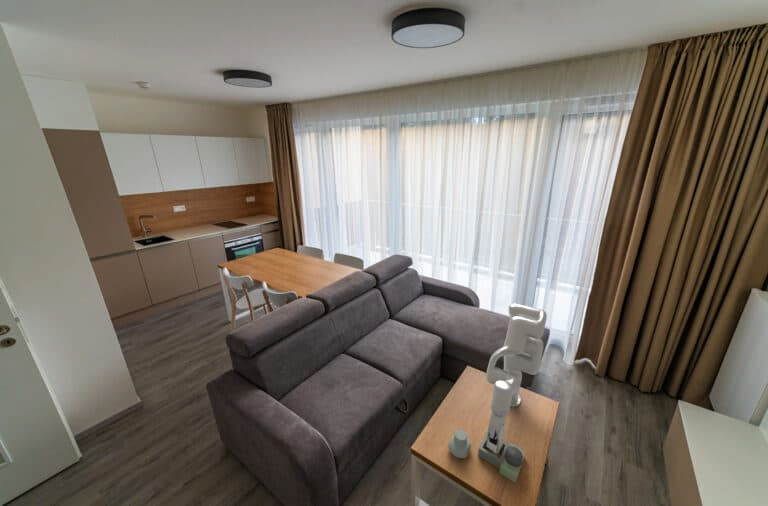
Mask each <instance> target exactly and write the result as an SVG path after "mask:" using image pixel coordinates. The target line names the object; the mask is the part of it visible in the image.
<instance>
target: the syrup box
mask: <svg viewBox="0 0 768 506" xmlns="http://www.w3.org/2000/svg"><path fill="white" fill-rule="evenodd" d="M506 428H507V423H506V422H504V425H503V427H502V429H501V431H500V433H499V435H498V436H497V438H498V439H497V445H494V444H492V443H491V442H489V439H490V434H491V431H489V430H488V429H487V432H488V434H487V441H486V446H485V448H487V449H489V450H491V451H492V452H493V453H495V454H496V455H498V454H499V452H500V449H501V447H502V445H503V441H504V439H505V438H504V437H505V432H506ZM494 435H495V436H496V433H495V434H494Z"/></svg>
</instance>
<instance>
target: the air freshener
mask: <svg viewBox="0 0 768 506" xmlns="http://www.w3.org/2000/svg"><path fill="white" fill-rule="evenodd" d="M471 447H472V443H471V441H470V439H469V438H468V434H467V432H466V431H465V430H464V429H457V430H455V431H454V434H453V435H452V436H451V439H450V440H449V443H448V449H449V452H450V453H451V454H452V455H453V456H454V457H456V458H458V459H466V458H467V456H468V455H469V452H470V450H471Z"/></svg>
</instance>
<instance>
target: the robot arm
mask: <svg viewBox="0 0 768 506" xmlns="http://www.w3.org/2000/svg"><path fill="white" fill-rule="evenodd" d="M508 314H509V317H510V319H509V323H508V327H507V332H506V337H505V340H504V344H503V345H502V346H501V347H500V348H498V349H497V350H496V351H494V353H492V355H491V357H490V358H489V362H488V366H487V369H486V373H485V374H486V375H485V376H486V380H487V382H488V383H489V384H490V385H491V384H492V385H493V389H492V390H493V391H492V395H491V396H492V397H491V403H490V410H491V413H490V417H489V422H488V426H487V431H488V430H489V431H491V434H490V439H489V442H491V443H492V444H494V445H497V439H498V438H497V436H498V435H499V433H500V431H501V429H502V427H503V425H504V423H506V422H505V421H506V417H508V416H509V415H510V409H511V407H513V408H514V407H517V406H519V405H520V404H521V400H522V398H521V396H520V390H521V389H520V388H521V385H522V377H523V375H522V372H523V373H526V374H529V375H533V376H535V375H537V374H538V373H539V371H540V366H541V361H542V356H543V351H544V341H543V340H542V339H541V338H542V337H543V335H544V332H545V328H546V322H547V318H548V316H547V312H546V311H545V310H543V309H541V308H540V309H539V308H538V307H537V308H536V307H532V306H529V305H523V304H521V303H511V304H509V306H508ZM501 357H503V369H502V368H500V367H496V364H497V361H498V360H499V359H500V358H501ZM495 433H496V436H495V435H494V434H495Z"/></svg>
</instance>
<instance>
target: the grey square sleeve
mask: <svg viewBox="0 0 768 506" xmlns="http://www.w3.org/2000/svg"><path fill="white" fill-rule="evenodd" d="M487 434H488V431H487V432H486V433H485V435H484V437H483V439H482V441H481V443H480V446H479V447H478V453H477V456H479V457H480V458H482V459H483V460H484V461H486V462H488V463H490V464H491V465H493V466H494V467H496V468H497V469H499V474H500V475H502V476H503V477H505V478H507V479H509V481H511V482H513V483H515V484H517V480H518V476H519V474H520V471H521V468H522V465H523V462H524V459H525V455H526V450H524V449H522V448H520V447H519V446H518V445H515V444H513V443H511V442H509V443H507V442H505V441H504V440H503V445H502V447H501V449H500V450H501V451H502V453H501V455H500V457H498V456H497V455H495V454H493V453H492V452H490V451H489V450H487V449H485V448H486V441H487Z"/></svg>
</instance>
